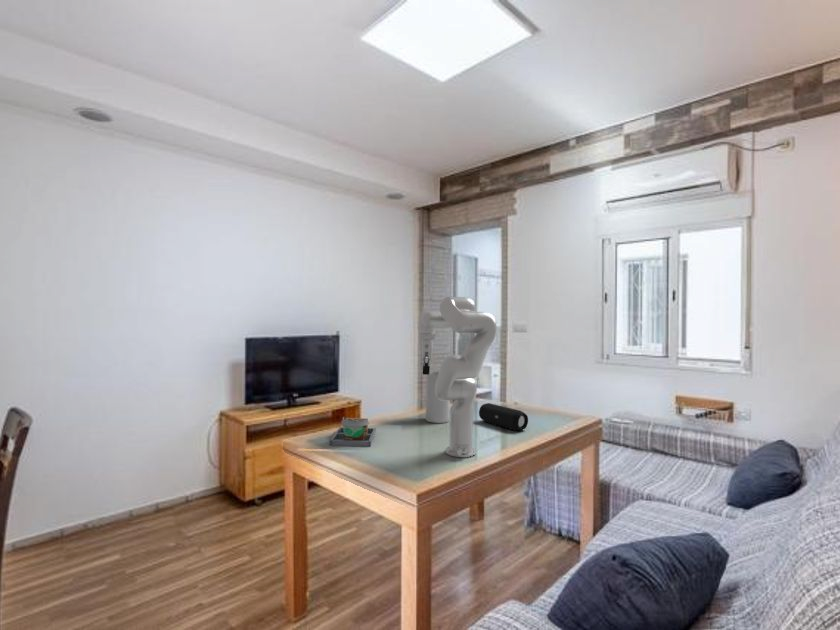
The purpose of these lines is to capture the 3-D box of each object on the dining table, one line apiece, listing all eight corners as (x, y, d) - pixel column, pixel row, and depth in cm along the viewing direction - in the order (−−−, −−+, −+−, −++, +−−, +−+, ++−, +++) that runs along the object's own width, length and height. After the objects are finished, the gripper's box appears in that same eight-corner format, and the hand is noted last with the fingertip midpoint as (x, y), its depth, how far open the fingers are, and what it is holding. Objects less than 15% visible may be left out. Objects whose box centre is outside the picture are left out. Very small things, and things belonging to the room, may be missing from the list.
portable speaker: (477, 422, 238) (478, 403, 238) (489, 419, 245) (490, 401, 244) (516, 433, 219) (517, 413, 218) (529, 430, 225) (529, 410, 225)
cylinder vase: (449, 424, 233) (451, 375, 232) (425, 423, 233) (427, 374, 232) (448, 418, 245) (450, 372, 245) (425, 417, 245) (426, 371, 245)
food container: (335, 443, 192) (336, 419, 191) (342, 439, 197) (343, 416, 197) (362, 446, 188) (362, 422, 188) (368, 442, 194) (368, 419, 194)
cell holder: (370, 448, 189) (370, 441, 189) (329, 447, 189) (329, 440, 189) (375, 434, 210) (375, 428, 210) (339, 433, 210) (339, 427, 210)
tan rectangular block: (365, 437, 201) (366, 421, 201) (343, 436, 201) (343, 421, 201) (367, 433, 207) (368, 418, 207) (345, 433, 207) (346, 417, 207)
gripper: (435, 338, 207) (434, 375, 208) (434, 336, 225) (433, 370, 225) (418, 338, 207) (417, 375, 208) (419, 335, 225) (418, 370, 225)
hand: (425, 372), depth 216 cm, fingers open, 9 cm apart
